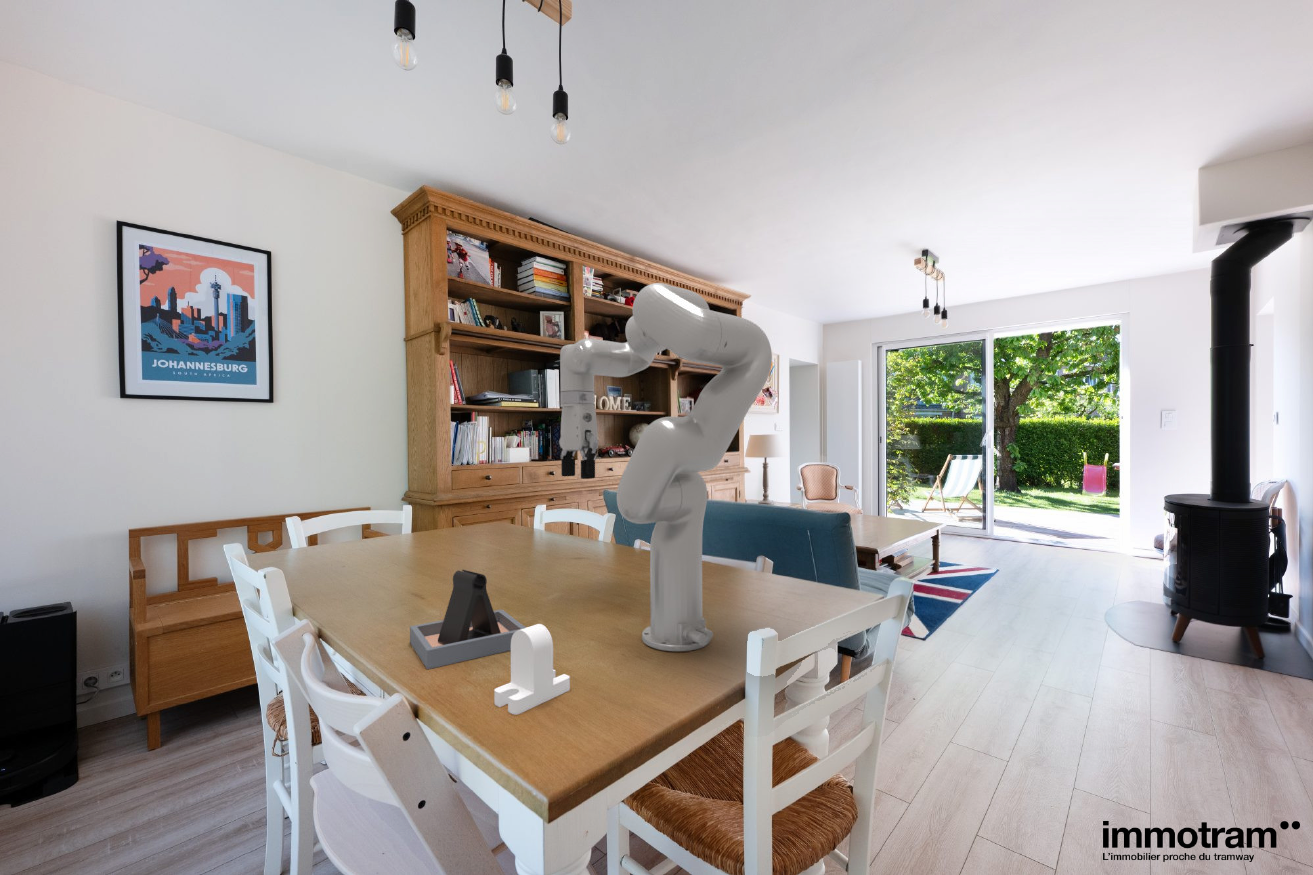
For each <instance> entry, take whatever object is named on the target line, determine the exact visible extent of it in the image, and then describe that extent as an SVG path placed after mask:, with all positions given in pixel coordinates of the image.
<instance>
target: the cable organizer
mask: <svg viewBox="0 0 1313 875" xmlns="http://www.w3.org/2000/svg"><path fill="white" fill-rule="evenodd" d="M556 673H557V671H556V669H554V642H553V637H552V634H551V633H550V630H548V628H547V627H546V626H545V625H544V624H542V623H537V624H536V623H535V624H533V625H531V626H528V627H526V628H524V629H521V630H518V631H516V632H515V633H514V634H513V636H512V639H511V650H510V682H508V683H505V684H503V685H500V686H498V687H496V688H494V689H493V690H494V691H493V692H494V696H493V697H494V698H493V699H494V705H495V706H497V707H498V708H501V707H503V706H506V705H507V713H510V714H512V715H515V716H516V715H520V714H522V713H524V712H526V711H529V710H530V709H533V708H535V707H537V706H539V705H542V704H544V703H545V702H548V701H549V700H552V699H554V698H556V697H559V696H561V695H562V694H565V693H567V692H569V691H570V690H571V680H570V679H571V676H570V675H568V674H565V673H563V674H561V675H558V676H556Z"/></svg>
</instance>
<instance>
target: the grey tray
mask: <svg viewBox="0 0 1313 875" xmlns="http://www.w3.org/2000/svg"><path fill="white" fill-rule="evenodd" d="M493 611H494V614H495V617H496V620H497V623H498V626H499V629H500V632H501V633H499V634H494V635H489V636H485V637H480V638H475V639H470V640H465V641H460V642H456V643H451V644H446V645H444V644H442V643H439V642H438V638H439V634H440V631H441V628H442V624H443V621H444V619H443V620H437V621H432V622H427V623H421V624H414V625H410V626H409V644H410V645H411V647H412V648H413V649H414V651H415V653H416V654H417V656H418V657H419V659H420V660H421V662H422V663H423V665H424V666H425V668H426V670H431V669H435V668H440V667H443V666H444V667H445V666H448V665H451V664H456V663H460V662H461V663H462V662H466V661H470V660H474V659H478V658H483V657H488V656H492V655H496V654H501V653H505V652H511V639H512V636H513V634H514V633H515V632H516V631H518V630H521V629H524V628H527V627H526V626H525V625H524V624H522V623H520V622H519V621H518V620H517V619H515V618H514V617H513V616H512V615H510V614H509V613H507V612H506V611H505V610H504V609H497V610H493ZM472 629H473V626H472V622H471V624H470V629H469V631H470V630H472Z"/></svg>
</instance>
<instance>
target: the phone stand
mask: <svg viewBox="0 0 1313 875" xmlns="http://www.w3.org/2000/svg"><path fill="white" fill-rule="evenodd" d="M452 576H453V577H452V582H453V584H452V591H451V594H450V598H449V600H448V604H447V608H446V611H445V615H444V618H443V620H444V621H443V624H442V628H441V631H440V634H439V638H438V642H439V643H442V644H444V645H446V644H451V643H456V642H460V641H465V640H470V639H475V638H480V637H485V636H489V635H494V634H499V633H501V632H500V629H499V626H498V623H497V620H496V617H495V614H494V611H495V610H494V609H493V606H492V603H491V600H490V596H489V593H488V591H487V582H488V581H487V577H486V576H485V575H484V574H483V573H480V572H479V573H477V572H475V571H470V570H467V569H462V570H456V571H455V572H454V574H453V575H452ZM471 622H472V626H473V629H472V630H470V631H469V629H470V624H471Z"/></svg>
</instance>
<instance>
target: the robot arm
mask: <svg viewBox="0 0 1313 875" xmlns="http://www.w3.org/2000/svg"><path fill="white" fill-rule="evenodd" d="M624 333H625V338H626V340H627V341H626V342H619V341H618V342H617V341H610V340H603V339H597V338H582V339H580V340H578V341H576V342H575V343H574V344H573V343H571V344H570V343H569V344H565V345H563V346H562V348H560V354H559V355H560V356H559V360H560V362H559V363H560V364H559V365H560V367H559V368H560V371H559V372H560V382H559V383H560V399H559V400H560V408H561V409H562V410H561V419H560V420H561V421H560V438H559V440H558V444H559V447H560V448H559V451H560V459H561V465H560V466H561V477H574V476H576V458H574V457H575V454H576V452H579V453H580V456H581V458H582V459H580V479H583V480H588V479H595V478H596V460H597V453H598V447H599V436H598V434H599V433H598V420H597V412H596V408H595V407H596V406H595V376H604V377H611V378H613V377H614V378H625V377H629V376H631V375H634V374H636V373H639V372H641V371H644V370H646V369H647V368H649V367H650V365H652V363H653V361H654V359H655V357H656V355H657V354H659V353H660V352H663V351H665V350H668V351H670V352H671V353H673V354H674V355H676V356H677V357H679V358H680V359H683V360H686V361H688V362H692V363H696V364H697V363H698V364H705V365H712V366H719V367H720V366H721V368H722V369H721V370H720V371H719V372H718V373H717V375H715V376H714V377H713V378H712V379H711V380H710V381H709V382H708V383H706V385H705V386H704V387H703V389H702V390H701V392H700V393H699V395H698V398H697V400H696V401H695V403H694V404H693V405H694V406H693V407H692V408H691V410H690V412H689V413H688V414H686V415H685V416H665V417H664V416H663V417H660V418H658V419H655V420H653V421H652V422H651V423H649V425H648V426H647V427H646V428H645V429H644V430H643V432H642V433H641V435H640V436H639V439H638V441H637V444H636V445H635V448H634V449H633V451H632V454H631V456H630V457H629V460H628V462H627V464H626V466H625V469H624V471H623V472H622V475H621V477H620V480H619V483H618V485H617V489H616V505H617V508H618V511H619V513H620V515H621V516H622V517H623V519H625V520H627V521H628V522H630V523H632V524H638V525H644V524H653V523H655V525H654V528H653V530H652V534H651V538H650V543H649V544H650V545H649V546H650V552H649V553H650V554H649V561H650V562H649V569H650V570H649V578H650V579H649V580H650V584H649V585H650V591H649V592H650V594H649V595H650V596H649V597H650V598H649V599H650V601H649V602H650V625H649V626H647V627H646V628H645V629H644V630H643V631H642V633H641V640H642V642H643V643H644V644H645V645H646V646H648V647H651V648H652V649H656V650H659V651H667V652H688V651H694V650H699V649H701V648H704V647H706V646H707V645H709V644H710V642H711V640H712V638H713V636H714V632H713V631H711V630H710V629H708V628H707V627H706V618H704V617H703V531H704V530H703V529H704V527H703V526H704V520H705V513H706V510H707V509H706V508H707V503H708V487H707V484H706V481H705V480H704V478H703V476H702V475H701V474H700V473H702V472H707V471H711V470H713V469H714V468H716V467H717V466H718V465H719V464H720V462H721V461H722V459H723V457H724V455H725V454H726V452H727V450H728V449H729V447H730V446H731V443H732V441H733V440H734V438H735V436H736V434H737V432H738V431H739V429H740V427H741V425H742V423H743V421H744V420H745V417H746V415H747V414H748V412H749V410H750V408H751V407H752V405H753V404H754V402H755V401H756V399H757V398H758V396H759V395H760V393H761V392H762V390H763V388H764V387H765V385H766V382H767V380H768V378H769V376H770V373H771V369H772V363H773V355H772V354H773V353H772V347H771V343H770V340H769V338H768V336H767V333H766V332H765V331H764V330H763V329H762V328H761V327H760V326H759V325H758V324H756V323H755V322H753V321H751V320H749V319H746V318H744V317H740V316H736V315H733V314H728V313H723V312H719V311H714V310H711V309H710V307H709V304H708V302H707V301H706V300H705V298H704V297H702V296H701V295H700V294H698V293H697V292H695V291H692V290H689V289H686V288H682V287H678V286H675V285H670V284H668V283H663V282H653V283H651V284H648V285H646V286H644V287H643V288H641V289H640V291H639V292H638V293H637V295H635V298H634V300H633V304H632V316H631V317H630V318H628V320H627V322H626V325H625V332H624Z"/></svg>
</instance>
